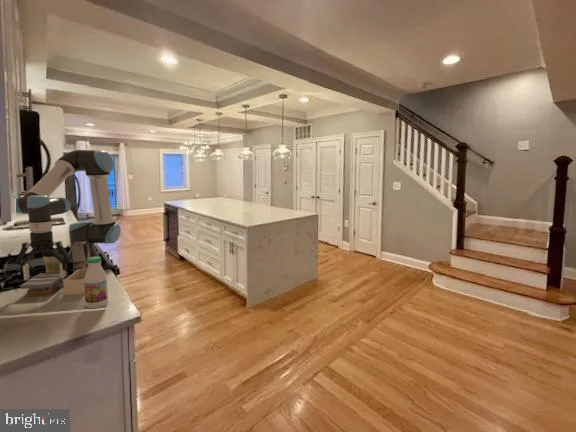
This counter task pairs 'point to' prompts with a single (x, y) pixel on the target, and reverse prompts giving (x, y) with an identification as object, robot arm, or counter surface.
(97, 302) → the milk bottle
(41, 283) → the lid
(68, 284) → the tub
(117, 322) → the counter surface
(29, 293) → the stand
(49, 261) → the coffee cup
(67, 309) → the counter surface
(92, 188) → the robot arm
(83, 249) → the coffee box
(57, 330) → the counter surface
